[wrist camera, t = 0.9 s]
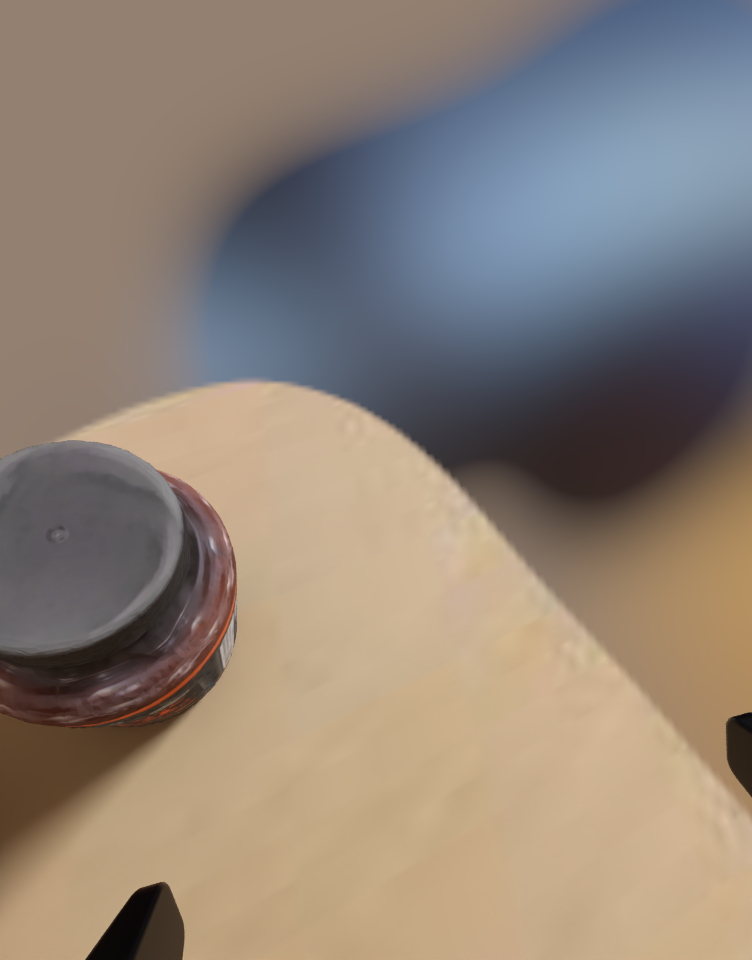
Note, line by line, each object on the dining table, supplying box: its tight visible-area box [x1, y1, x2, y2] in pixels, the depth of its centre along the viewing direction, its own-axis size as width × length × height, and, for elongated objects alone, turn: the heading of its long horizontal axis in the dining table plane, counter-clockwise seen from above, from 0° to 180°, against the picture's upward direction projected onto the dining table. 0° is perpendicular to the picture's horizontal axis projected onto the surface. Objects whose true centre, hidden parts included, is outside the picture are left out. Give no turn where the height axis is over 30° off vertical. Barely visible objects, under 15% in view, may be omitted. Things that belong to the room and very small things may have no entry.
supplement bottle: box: [0, 440, 237, 728], centre depth 13 cm, size 6×6×11 cm
